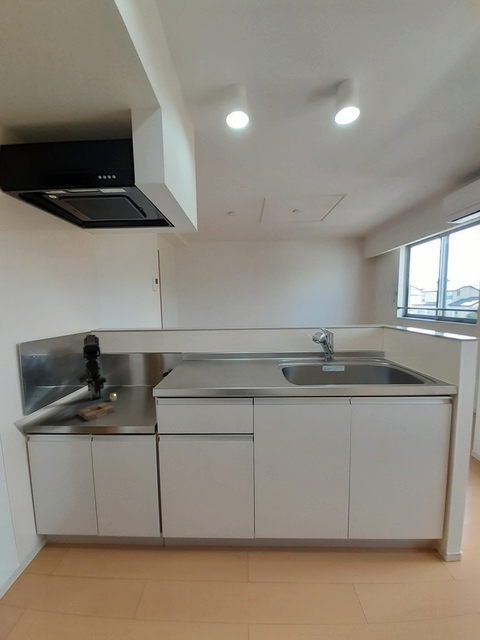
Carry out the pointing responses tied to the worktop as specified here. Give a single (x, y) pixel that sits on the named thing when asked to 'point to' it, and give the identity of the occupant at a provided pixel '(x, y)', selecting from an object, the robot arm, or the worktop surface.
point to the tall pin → (93, 391)
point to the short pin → (113, 397)
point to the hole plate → (96, 411)
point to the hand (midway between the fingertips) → (94, 393)
